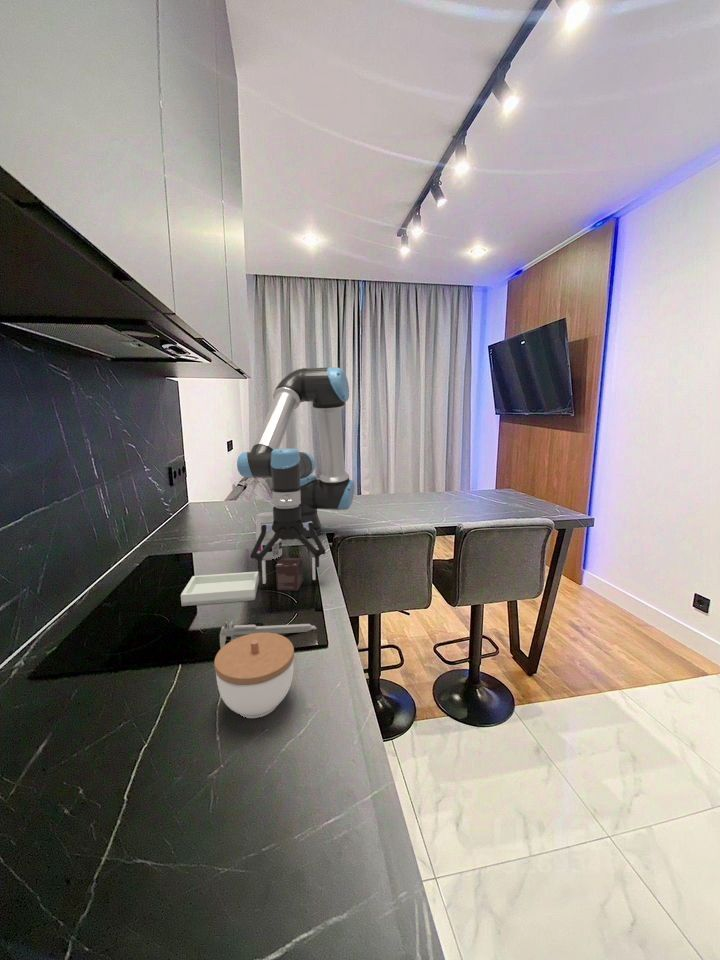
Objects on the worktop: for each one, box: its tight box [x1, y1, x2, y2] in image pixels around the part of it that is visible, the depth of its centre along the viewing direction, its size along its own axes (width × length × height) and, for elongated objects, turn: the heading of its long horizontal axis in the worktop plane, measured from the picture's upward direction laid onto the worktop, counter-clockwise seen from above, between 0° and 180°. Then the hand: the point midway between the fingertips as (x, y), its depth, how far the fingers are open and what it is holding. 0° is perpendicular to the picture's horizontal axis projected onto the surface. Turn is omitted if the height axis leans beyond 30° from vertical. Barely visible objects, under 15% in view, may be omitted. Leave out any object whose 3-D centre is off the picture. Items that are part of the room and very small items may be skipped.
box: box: [275, 557, 304, 591], centre depth 110 cm, size 6×6×7 cm
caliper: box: [219, 620, 317, 649], centre depth 84 cm, size 20×1×6 cm, turn 114°
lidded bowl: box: [213, 633, 295, 719], centre depth 65 cm, size 13×13×11 cm
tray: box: [180, 571, 260, 607], centre depth 106 cm, size 12×18×3 cm, turn 100°
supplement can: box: [255, 510, 283, 561], centre depth 132 cm, size 8×8×15 cm
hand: (289, 580), depth 110 cm, fingers open, 13 cm apart
